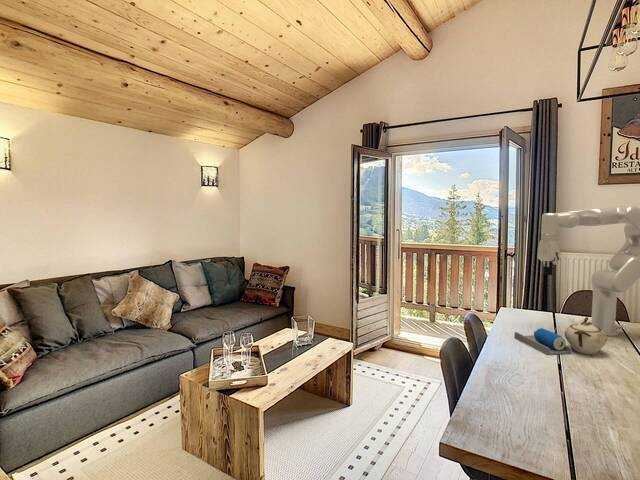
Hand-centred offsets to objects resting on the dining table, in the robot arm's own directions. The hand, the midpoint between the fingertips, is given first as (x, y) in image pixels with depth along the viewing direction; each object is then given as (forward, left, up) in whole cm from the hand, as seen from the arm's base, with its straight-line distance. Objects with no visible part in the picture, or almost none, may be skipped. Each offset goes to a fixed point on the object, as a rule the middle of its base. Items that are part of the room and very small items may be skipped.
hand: (548, 274), depth 186 cm
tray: (+16, +18, -29) cm, 38 cm away
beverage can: (+15, +15, -25) cm, 33 cm away
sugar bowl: (+2, +26, -29) cm, 39 cm away
